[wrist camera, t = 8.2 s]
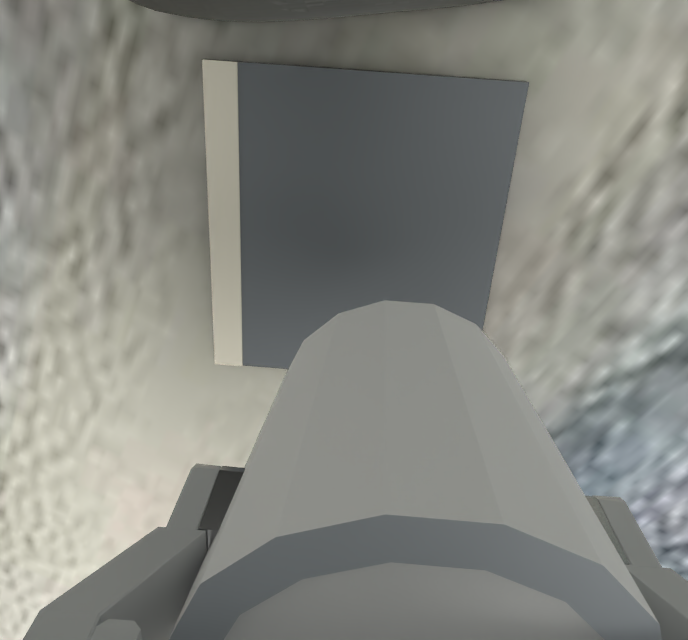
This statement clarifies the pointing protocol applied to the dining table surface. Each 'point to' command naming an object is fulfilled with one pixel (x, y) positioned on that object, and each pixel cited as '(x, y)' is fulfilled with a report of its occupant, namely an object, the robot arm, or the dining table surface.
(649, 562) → the robot arm
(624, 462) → the dining table surface
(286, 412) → the shot glass
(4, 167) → the dining table surface
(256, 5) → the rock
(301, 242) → the mat
